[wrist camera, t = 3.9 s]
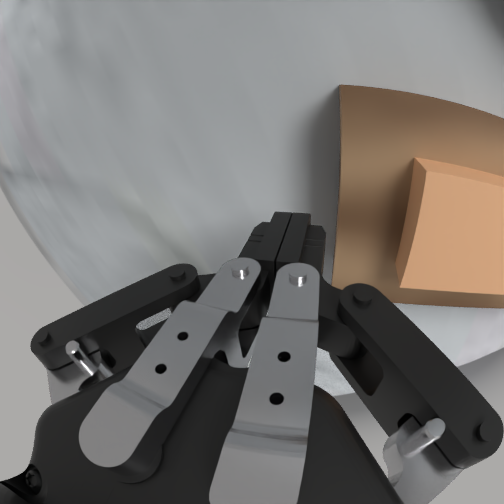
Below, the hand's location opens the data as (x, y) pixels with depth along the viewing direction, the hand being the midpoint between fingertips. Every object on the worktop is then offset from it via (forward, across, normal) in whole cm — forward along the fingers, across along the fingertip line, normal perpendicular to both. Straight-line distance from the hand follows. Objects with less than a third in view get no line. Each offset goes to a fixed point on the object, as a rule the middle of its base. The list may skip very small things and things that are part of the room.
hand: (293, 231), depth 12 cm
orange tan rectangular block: (+2, -10, 0) cm, 10 cm away
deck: (+6, -12, 0) cm, 14 cm away
